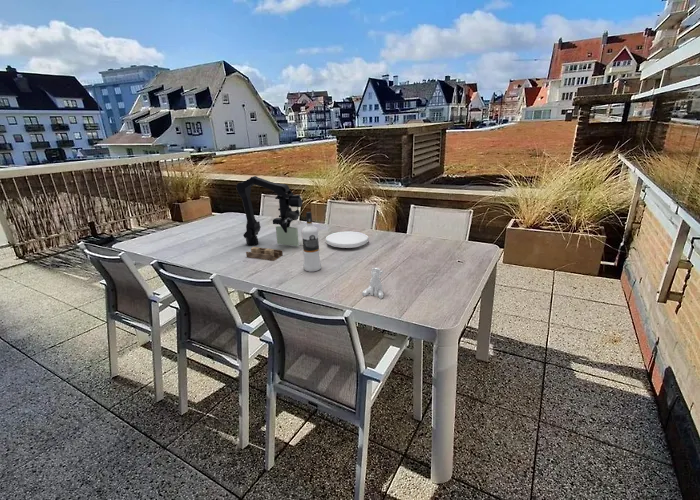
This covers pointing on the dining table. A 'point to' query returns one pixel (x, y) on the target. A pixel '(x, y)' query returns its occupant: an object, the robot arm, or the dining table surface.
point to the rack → (265, 255)
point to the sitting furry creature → (374, 284)
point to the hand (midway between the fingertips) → (286, 232)
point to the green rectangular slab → (287, 236)
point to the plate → (347, 239)
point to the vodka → (310, 246)
